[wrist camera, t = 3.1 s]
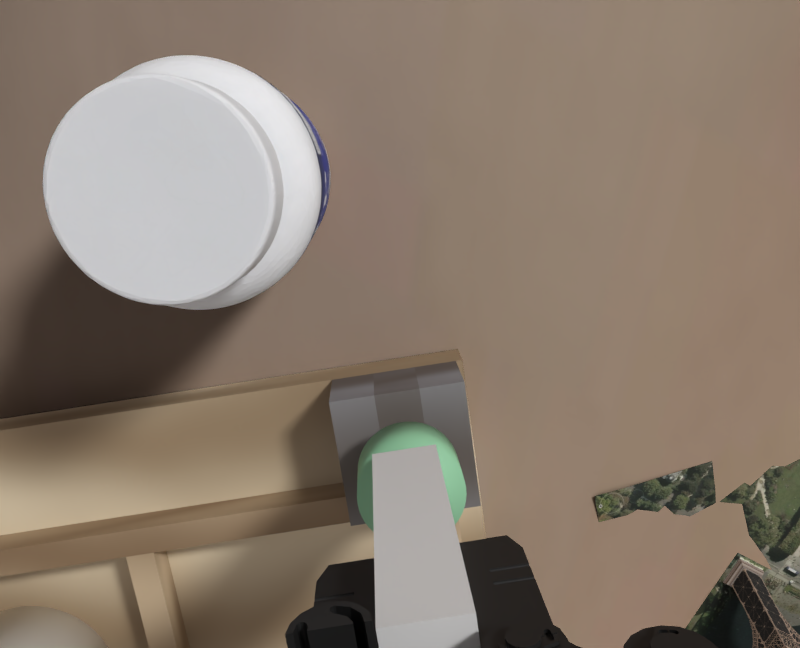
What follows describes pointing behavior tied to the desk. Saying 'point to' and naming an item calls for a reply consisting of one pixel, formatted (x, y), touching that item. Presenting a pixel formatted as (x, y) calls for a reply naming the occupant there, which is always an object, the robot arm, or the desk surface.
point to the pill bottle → (186, 183)
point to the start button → (405, 438)
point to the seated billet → (45, 629)
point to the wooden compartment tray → (210, 499)
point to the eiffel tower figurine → (744, 578)
